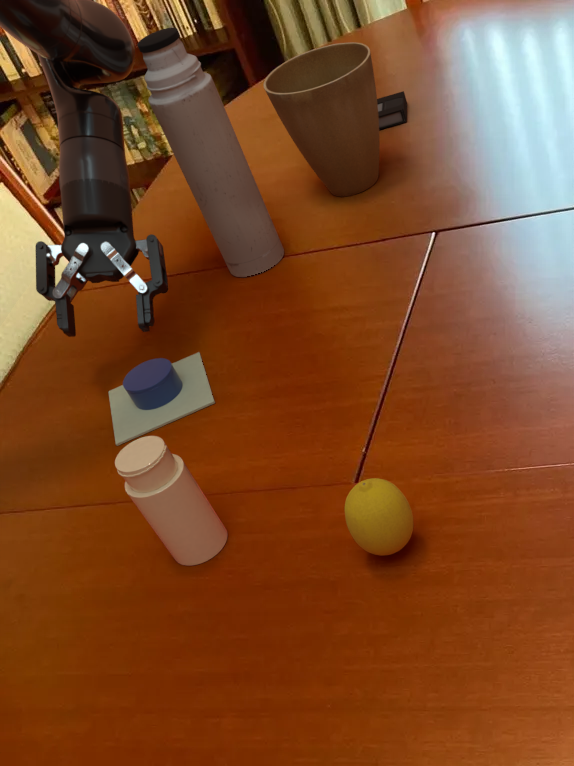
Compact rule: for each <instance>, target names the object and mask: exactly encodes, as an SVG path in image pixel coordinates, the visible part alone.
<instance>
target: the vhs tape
mask: <svg viewBox="0 0 574 766" xmlns="http://www.w3.org/2000/svg"><path fill="white" fill-rule="evenodd" d="M377 105H378V118H379V131H380V130H383V129H387V128H390V127H394V126H397V125H400V124H404V123H407V122H408V101H407V98H406V94H405V91H400V92H399V91H398V92H396V93H392V94H389V95H386V96H383V97H379V98H377Z"/></svg>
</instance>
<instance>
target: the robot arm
mask: <svg viewBox="0 0 574 766" xmlns="http://www.w3.org/2000/svg"><path fill="white" fill-rule="evenodd" d="M0 28H1V29H2V30H4V31H5V32H6V33H7V34H8V35H9V36H11V37H12V38H14V39H15V40H16V41H18V43H20V44H22V45H23V46H24V47H26V48H28V49H29V50H31V51H32V52H34V53H35V54H37V57H38V60H39V63H40V65H41V68H42V70H43V73H44V76H45V78H46V81H47V83H48V87H49V91H50V93H51V97H52V100H53V103H54V108H55V112H56V117H57V128H58V142H59V159H58V161H59V162H58V173H59V178H58V186H59V189H60V201H61V212H62V213H61V215H62V226H63V227H62V228H63V233H64V235H63V236H64V237H63V241H62V242H61V244H47V243H46V242H45V241H42V240H41V241H39V240H38V241H37V242H36V244H35V291H36V292H37V293H38V294H39V295H41V296H42V297H43V298H44V299H45V300H47V301H49V302H54V303H55V304H54V305H55V315H56V317H55V318H56V325H57V327H58V329H59V330H60V331H62V333H63V334H64V335H66V336H67V337H68V338H71V337H72V338H73V337H76V335H77V332H76V331H77V330H76V318H75V306H74V305H73V304H72V302H73V301H74V299H75V297H76V296H77V294H78V293H79V292H81V291H82V290H84V288H85V286H86V285H87V283H88V282H90V283H91V284H100V283H102V282H109V283H110V282H111V283H119V282H120V280H122V279H123V278H124V277H125V279H126V280H127V281H128V282H129V283H130V284H131V285H132V287H133V288H134V289H135V290H136V291H137V293H138V294H135V302H136V315H137V316H136V317H137V326H138V328H139V330H140V331H142V333H146V332H150V331H151V327H153V326H154V325H155V310H154V309H155V308H154V299H155V297H156V296H158V295H161V294H163V295H164V294H167V293H168V292H169V289H170V288H169V287H170V286H169V280H168V274H167V273H168V272H167V267H166V259H165V252H164V246H163V245H162V243H161V242H160V240H159V239H158V237H157V236H156V235H155V234H154V233H153V234H151V233H150V234H148V235H147V236H146V238H144V239H138V240H136V239H135V235H134V234H135V233H134V219H133V206H132V196H131V195H132V194H131V182H130V181H131V180H130V172H129V168H128V167H129V166H128V163H127V158H126V157H127V156H126V147H125V133H124V131H125V130H124V120H123V114H122V111H121V108H120V106H119V105H118V103H117V102H116V101H115V100H114V99H113V98H112V97H110V96H108V95H106V94H104V93H101V92H98V91H93V90H90V89H84V88H80V86H84V85H95V84H105V83H114V82H119V81H121V80H124V79H125V78H127V77H128V76H129V75H130V74H131V72H132V71H133V68H134V65H135V63H136V62H135V61H136V50H135V49H136V48H135V44H134V40H133V38H132V35H131V33H130V30H129V28H128V27H127V26H126V24H125V23H124V21H123V20H122V19H121V18H120V16H118V14H116V13H115V12H114V11H113V10H112V9H110V8H109V7H107V6H106V5H104V4H102V3H99V2H97V1H94V0H0ZM140 252H141V253H142V255H143V256H144V258H146V259H147V260H148V261H149V269H150V277H151V279H150V280H148V281H146V282H145V281H144V280H143V279H142V278H141V277H140V276H139V275H138V273H137V272H136V271H135V270H134V269H133V268H132V265H133V263H134V262H135V260H136V259H137V258H138V255H139V253H140ZM62 257H64V258H65V259H66V260H67V261H68V263H67V264H66V266H65V267H64V269H63V270H62V272H61V274H60V276H61V278H60V279H59V281H58V282H57V283H56V266H58V265H59V264H60V260H61V258H62Z"/></svg>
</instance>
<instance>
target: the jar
mask: <svg viewBox="0 0 574 766" xmlns="http://www.w3.org/2000/svg"><path fill="white" fill-rule="evenodd" d="M114 466H115V468H116V472H117V473H118V475H119V476H120V477H122V479H123V480H124V481H125V482H124V490H125V493H126V494H127V495H128V497H129V498H130V500H131V501H132V502H133V504H134V505H135V506H136V508H137V510H138V511H139V513H141V515H142V516H143V518H144V519H145V520H146V522H147V523H148V524H149V526H150V527H151V529H152V530H153V532H154V534H156V536H157V537H158V539H159V540H160V541H161V543H162V544H163V546H164V548H166V549H167V551H168V553H169V554H170V555H171V557H172V558H173V560H174V561H175V562H176V563H178V564H180V565H182V566H188V567H189V566H198V565H201V564H203V563H206V562H208V561H209V560H211V559H213V558H214V557H215V556H217V555H218V554H219V553H220V552H221V551H222V550H223V548H224V547H225V545H226V543H227V541H228V530H227V528H226V526H225V525H224V523H223V522H222V520H221V519H220V517H219V515H218V513H217V512H216V511H215V509H214V507H213V505H212V504H211V503H210V501H209V499H208V498H207V496H206V495H205V493H204V492H203V490H202V488H201V486H200V485H199V484H198V482H197V480H196V479H195V478H194V475H193V474H192V472H191V471H190V470H189V467H188V466H187V465H186V463H185V460H183V458H182V457H180V455H178V454H175V453H172V452H171V449H169V446H168V445H167V444H166V442H165V441H164V439H163V438H162V437H160V436H158V435H146V436H143V437H138V438H137V439H135V440H133V441H131V442H130V443H128V444H126V445H125V446H124V447H123V448H122V449H120V451H119V452H118V454H116V457H115V460H114Z"/></svg>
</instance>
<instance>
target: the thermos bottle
mask: <svg viewBox="0 0 574 766" xmlns="http://www.w3.org/2000/svg"><path fill="white" fill-rule="evenodd" d="M180 36H181V34H180V32H179V30H178V28H176V27H166V28H163V29H158V30H155V31H154V32H151V33H150V34H148V35H146V36H143V38H141V39H140V40H139V41H138V42H137V44H136V45H137V48H138V50H139V52H140V53H141V54H142V59H143V61H144V63H145V66H146V68H147V71H146V73H145V75H144V81H145V83H146V89H147V90H148V91H150V96H149V97H148V104H149V106H150V108H151V110H152V113H153V115H154V117H155V118H156V120H157V122H158V124H159V126H160V129H161V130H162V132H163V134H164V136H165V139H166V141H167V143H168V145H169V147H170V150H171V151H172V153H173V156H174V158H175V160H176V162H177V164H178V166H179V168H180V170H181V173H182V174H183V177H184V180H185V181H186V184H187V185H188V187H189V189H190V191H191V194H192V196H193V198H194V200H195V202H196V204H197V206H198V208H199V210H200V213H201V214H202V216H203V218H204V220H205V222H206V225H207V227H208V229H209V232H210V233H211V235H212V237H213V240H214V242H215V244H216V247H217V248H218V250H219V252H220V254H221V256H222V259H223V261H224V263H225V265H226V267H227V269H228V271H229V273H230V274H231V275H232V276H234V277H236V278H248V277H247V276H250V277H252V276H251V275H254V276H256V275H255V274H257V275H259V274H258V273H260V274H262V273H265V272H266V270H267V271H269V270H270V269H272V268H273V267H275V266H277V264H279V263H280V261H281V260H282V259H283V257H284V256H285V249H284V246H283V244H282V241H281V239H280V237H279V234H278V232H277V229H276V227H275V224H274V222H273V220H272V217H271V216H270V212H269V210H268V208H267V206H266V203H265V201H264V199H263V196H262V194H261V191H260V189H259V187H258V184H257V182H256V179H255V177H254V175H253V172H252V170H251V168H250V165H249V162H248V161H247V159H246V156H245V153H244V151H243V148H242V146H241V143H240V141H239V139H238V136H237V134H236V132H235V129H234V127H233V125H232V122H231V120H230V117H229V115H228V112H227V110H226V108H225V105H224V103H223V101H222V98H221V96H220V93H219V91H218V89H217V86H216V84H215V82H214V79H213V76H211V74H210V73H207V72H204V71H203V69H202V62H200V61H199V59H198V57H197V56H196V55H193V54H191V53H188V52H187V50H186V48H185V46H184V43H183V41H181V40H180ZM274 265H275V266H274ZM271 267H272V268H271ZM268 269H269V270H268ZM264 271H265V272H264ZM261 272H262V273H261Z"/></svg>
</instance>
